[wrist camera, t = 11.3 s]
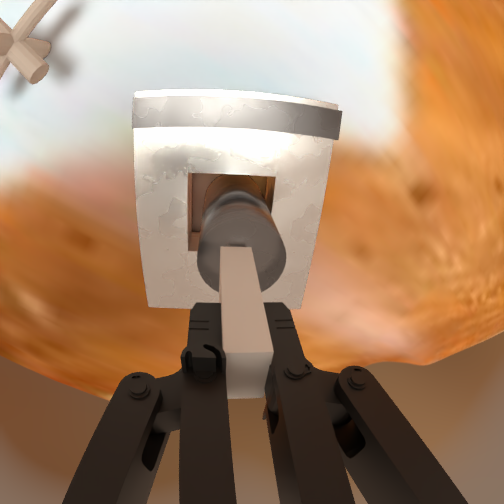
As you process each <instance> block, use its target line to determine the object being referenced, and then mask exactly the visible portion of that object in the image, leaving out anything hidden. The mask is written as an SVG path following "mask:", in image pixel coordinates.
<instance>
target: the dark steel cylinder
mask: <svg viewBox="0 0 504 504" xmlns="http://www.w3.org/2000/svg"><path fill="white" fill-rule="evenodd" d="M221 246H223V247H251V248H252V252H253V257H254V262H255V266H256V271H257V276H258V280H259V285H260V290H261V292H263V291H265V290H267V289H268V288H270V287H271V286H272V285H273V284H274V283H275V282H276V281H277V280H278V279H279V278H280V276H281V274H282V273H283V270H284V268H285V264H286V249H285V246H284V243H283V241H282V239H281V236H280V234H279V232H278V229H277V227H276V225H275V223H274V220H273V218H272V216H271V214H270V211H269V209H268V207H267V205H266V203H265V200H264V198H263V196H262V194H261V191H260V189H259V187H258V186H257V184H256V183H255V182H254V181H253V180H252V179H251V178H250V177H248V176H246V175H238V174H224V175H221V176H219V177H218V178H216V179H215V180H214V181H213V182H212V183H211V184H210V185H209V187H208V189H207V191H206V195H205V201H204V208H203V215H202V222H201V229H200V237H199V244H198V252H197V267H198V271H199V273H200V275H201V277H202V279H203V280H204V281H205V283H206V284H207V285H208V286H209V287H211V288H212V289H213V290H215V291H217V292H219V277H220V247H221Z"/></svg>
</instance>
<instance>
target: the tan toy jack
mask: <svg viewBox="0 0 504 504" xmlns="http://www.w3.org/2000/svg"><path fill="white" fill-rule="evenodd" d="M56 1H57V0H35V1H34V2H33V3H32V4H31V6H30V7H29V8H28V9H27V11H26V12H25V13H24V15H23V16H22V17H21V18H20V20H19V21H18V22H17V24H16V25H15V27H14V28H13V29H11V28H10V27H9V26H8V25H7V24H6V23H5V22H4V21H3V20H2V19H1V18H0V79H1V77H2V75H3V74H4V72H5V70H6V69H7V67H8V65H9V64H10V62H11V63H12V64H13V65H14V66H15V67H16V69H17V70H18V71H19V72H20V73H21V74H22V75H23V76H24V77H25V78H26V79H27V80H28V81H29V82H30V83H31V84H35V83H38V82H39V81H40V80H42V79H43V77H44V76H45V75H46V74H47V72H48V70H49V65H48V64H47V63H46V62H45V61H44V60H43V58H45V57H46V56H47V55H48V54H49V52H50V49H51V44H50V43H49V42H48V41H43V40H39V39H34V38H29V37H28V36H29V34H30V33H31V32H32V30H33V29H34V28H35V26H36V25H37V24H38V23H39V21H40V20H41V19H42V18H43V16H44V15H45V14H46V13H47V12H48V10H49V9H50V8H51V7H52V6H53V5H54V4H55V2H56Z"/></svg>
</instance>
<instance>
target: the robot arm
mask: <svg viewBox="0 0 504 504" xmlns="http://www.w3.org/2000/svg"><path fill="white" fill-rule="evenodd" d="M181 364H182V368H181V369H180V370H179V371H178V372H176V373H175V374H172V375H169V376H166V377H161V378H156V379H155V378H154V376H152V375H150V374H148V373H143V372H136V373H131V374H129V375H127V376H125V377H124V378H123V379H122V381H121V382H120V383H119V385H118V387H117V389H116V391H115V393H114V395H113V397H112V398H111V400H110V402H109V404H108V406H107V408H106V410H105V412H104V414H103V416H102V418H101V420H100V422H99V424H98V426H97V428H96V430H95V432H94V434H93V436H92V438H91V440H90V442H89V444H88V447H87V449H86V451H85V453H84V455H83V457H82V460H81V462H80V464H79V466H78V468H77V470H76V472H75V475H74V477H73V479H72V481H71V484H70V486H69V488H68V491H67V493H66V495H65V498H64V500H63V503H62V504H146V503H147V500H148V497H149V494H150V491H151V488H152V485H153V482H154V479H155V476H156V473H157V470H158V467H159V464H160V461H161V458H162V456H163V452H164V450H165V447H166V444H167V441H168V438H169V435H170V432H171V431H174V430H179V429H180V449H179V453H180V454H179V496H180V497H179V498H180V499H179V501H180V504H237V503H236V493H235V483H234V473H233V463H232V451H231V440H230V427H229V414H228V400H227V399H239V398H263V397H264V392H265V395H266V401H267V402H266V405H265V409H264V413H263V420H264V419H266V420H267V426H268V433H269V439H270V445H271V451H272V457H273V464H274V469H275V475H276V481H277V487H278V494H279V499H280V504H355V501H354V497H353V494H352V490H351V487H350V483H349V480H348V476H347V473H346V469H347V471H348V472H349V474H350V475H351V477H352V479H353V480H354V482H355V484H356V485H357V487H358V488H359V490H360V492H361V493H362V495H363V496H364V498H365V500H366V501H367V503H368V504H468V503H467V501H466V500H465V498H464V497H463V496H462V494H461V493H460V491H459V490H458V489H457V487H456V486H455V484H454V483H453V482H452V480H451V479H450V477H449V476H448V475H447V473H446V472H445V471H444V469H443V468H442V466H441V465H440V464H439V462H438V461H437V459H436V458H435V457H434V455H433V454H432V453H431V452H430V450H429V449H428V448H427V446H426V445H425V443H424V442H423V441H422V439H421V438H420V437H419V435H418V434H417V433H416V431H415V430H414V429H413V427H412V426H411V424H410V423H409V422H408V421H407V419H406V418H405V417H404V415H403V414H402V413H401V411H400V410H399V409H398V407H397V406H396V405H395V404H394V402H393V401H392V399H391V398H390V397H389V396H388V394H387V393H386V392H385V390H384V389H383V388H382V386H381V385H380V384H379V383H378V381H377V380H376V379H375V377H374V376H373V375H372V374H371V373H370V372H369V371H368V370H367V369H365V368H363V367H360V366H349V367H346V368H345V369H343V370H342V371H341V373H333V372H327V371H322V370H319V369H317V368H315V367H313V365H312V363H310V362H309V361H308V360H307V359H306V358H305V356H304V354H303V350H302V347H301V344H300V341H299V338H298V334H297V331H296V329H295V325H294V322H293V318H292V315H291V312H290V310H289V309H288V308H287V306H286V305H285V304H284V303H283V302H263V299H262V294H261V290H260V285H259V280H258V276H257V271H256V266H255V262H254V257H253V252H252V248H251V247H223V246H221V247H220V277H219V303H203V302H196V304H195V305H194V306H193V308H192V309H191V311H190V322H189V331H188V343H187V347H186V348H185V349H184V350H183V351H182V354H181ZM345 467H346V469H345Z"/></svg>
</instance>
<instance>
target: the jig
mask: <svg viewBox="0 0 504 504" xmlns="http://www.w3.org/2000/svg"><path fill="white" fill-rule="evenodd" d="M341 117H342V111H339V110H338V105H337V104H332V103H327V102H322V101H316V100H310V99H304V98H298V97H291V96H284V95H276V94H267V93H257V92H245V91H230V90H201V89H182V90H154V91H139V92H135V98H133V115H132V129H134V173H135V194H136V210H137V222H138V233H139V243H140V252H141V260H142V268H143V275H144V282H145V288H146V295H147V301H148V307H158V308H182V309H192V308H193V306H194V305H195V304H196V302H203V303H219V292H217V291H215V290H213V289H212V288H211V287H209V286H208V285H207V284H206V283H205V281H204V280H203V279H202V277H201V275H200V273H199V271H198V267H197V252H198V244H199V237H200V232H192V173H213V174H238V175H256V176H267V182H266V192H265V203H266V205H267V207H268V209H269V211H270V214H271V216H272V218H273V220H274V223H275V225H276V227H277V229H278V232H279V234H280V236H281V239H282V241H283V243H284V246H285V249H286V264H285V268H284V270H283V273H282V274H281V276H280V278H279V279H278V280H277V281H276V282H275V283H274V284H273V285H272V286H271V287H270V288H268V289H267V290H265V291H263V292H261V294H262V299H263V302H283V303H284V304H285V305H286V306H287V308H288V309H300V308H301V304H302V300H303V296H304V291H305V287H306V283H307V278H308V274H309V270H310V265H311V261H312V256H313V251H314V247H315V242H316V237H317V232H318V227H319V222H320V217H321V212H322V206H323V201H324V195H325V190H326V184H327V178H328V172H329V166H330V160H331V154H332V147H333V140H338V139H339V132H340V124H341Z"/></svg>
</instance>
